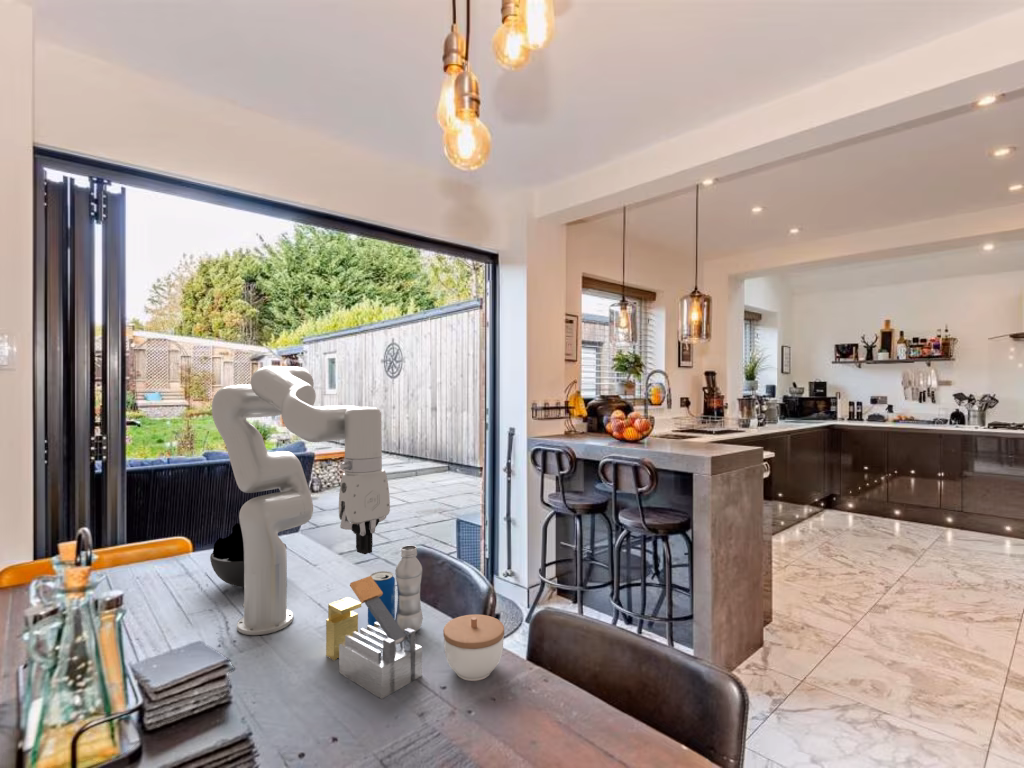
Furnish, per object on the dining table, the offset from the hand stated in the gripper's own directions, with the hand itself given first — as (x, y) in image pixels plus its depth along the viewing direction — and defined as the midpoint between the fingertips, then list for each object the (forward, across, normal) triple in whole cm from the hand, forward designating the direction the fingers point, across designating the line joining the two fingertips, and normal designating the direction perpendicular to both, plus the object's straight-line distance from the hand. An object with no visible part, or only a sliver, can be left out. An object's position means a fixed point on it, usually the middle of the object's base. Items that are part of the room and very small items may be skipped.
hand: (364, 552), depth 111 cm
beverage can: (+24, +14, +13) cm, 31 cm away
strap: (+12, 0, -5) cm, 12 cm away
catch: (+24, 0, +8) cm, 25 cm away
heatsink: (+24, 0, -5) cm, 25 cm away
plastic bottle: (+24, +16, +5) cm, 29 cm away
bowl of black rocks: (+23, +5, +63) cm, 67 cm away
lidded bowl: (+25, +13, -19) cm, 34 cm away
